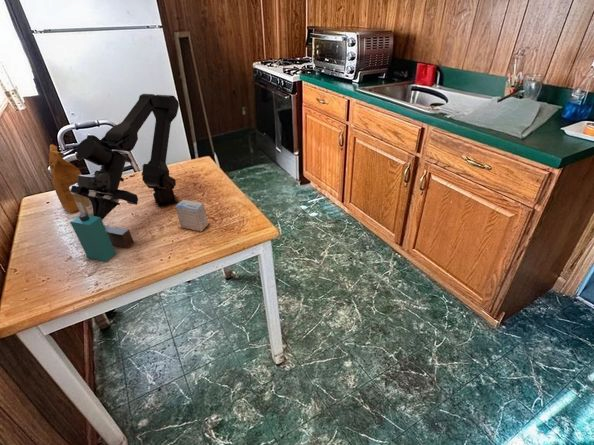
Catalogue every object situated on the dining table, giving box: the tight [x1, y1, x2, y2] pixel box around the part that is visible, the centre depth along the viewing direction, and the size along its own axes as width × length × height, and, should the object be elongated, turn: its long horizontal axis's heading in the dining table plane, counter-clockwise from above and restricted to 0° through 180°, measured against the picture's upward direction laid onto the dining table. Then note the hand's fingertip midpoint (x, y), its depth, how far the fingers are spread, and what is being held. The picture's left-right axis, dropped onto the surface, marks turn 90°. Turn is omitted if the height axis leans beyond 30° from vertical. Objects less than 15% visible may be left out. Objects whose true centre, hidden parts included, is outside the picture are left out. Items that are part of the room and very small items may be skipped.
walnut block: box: [104, 224, 135, 249], centre depth 101 cm, size 3×10×5 cm, turn 74°
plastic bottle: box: [69, 213, 117, 262], centre depth 94 cm, size 10×7×14 cm, turn 164°
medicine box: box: [175, 199, 209, 232], centre depth 107 cm, size 8×4×9 cm, turn 71°
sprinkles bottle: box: [69, 183, 94, 216], centre depth 110 cm, size 5×5×13 cm
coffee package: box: [48, 143, 83, 213], centre depth 117 cm, size 10×12×22 cm
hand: (96, 222), depth 94 cm, fingers closed
